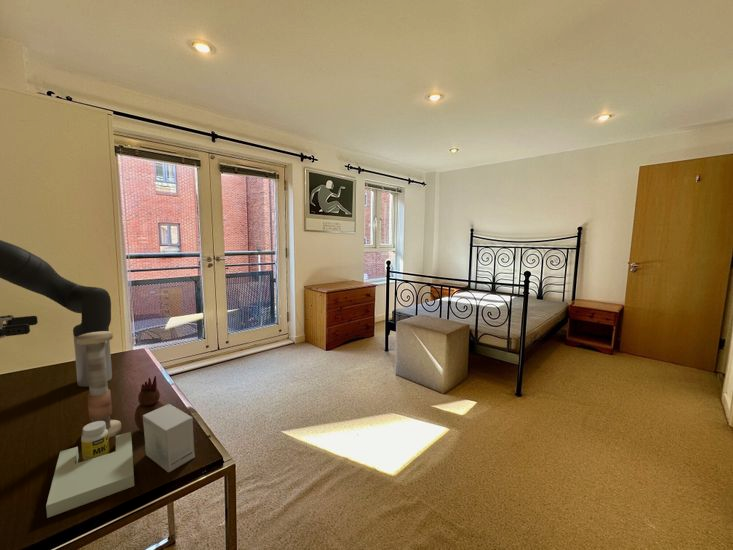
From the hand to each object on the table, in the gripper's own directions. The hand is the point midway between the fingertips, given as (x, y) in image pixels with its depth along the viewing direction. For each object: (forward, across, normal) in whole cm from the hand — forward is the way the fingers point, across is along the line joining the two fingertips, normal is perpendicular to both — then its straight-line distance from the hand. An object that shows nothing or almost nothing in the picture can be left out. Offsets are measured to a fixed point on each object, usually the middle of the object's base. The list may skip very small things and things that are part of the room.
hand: (33, 324), depth 76 cm
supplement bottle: (+10, -16, +30) cm, 36 cm away
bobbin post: (+11, -4, +30) cm, 32 cm away
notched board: (+11, -21, +30) cm, 38 cm away
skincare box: (+24, -24, +30) cm, 46 cm away
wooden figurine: (+21, -9, +30) cm, 38 cm away
